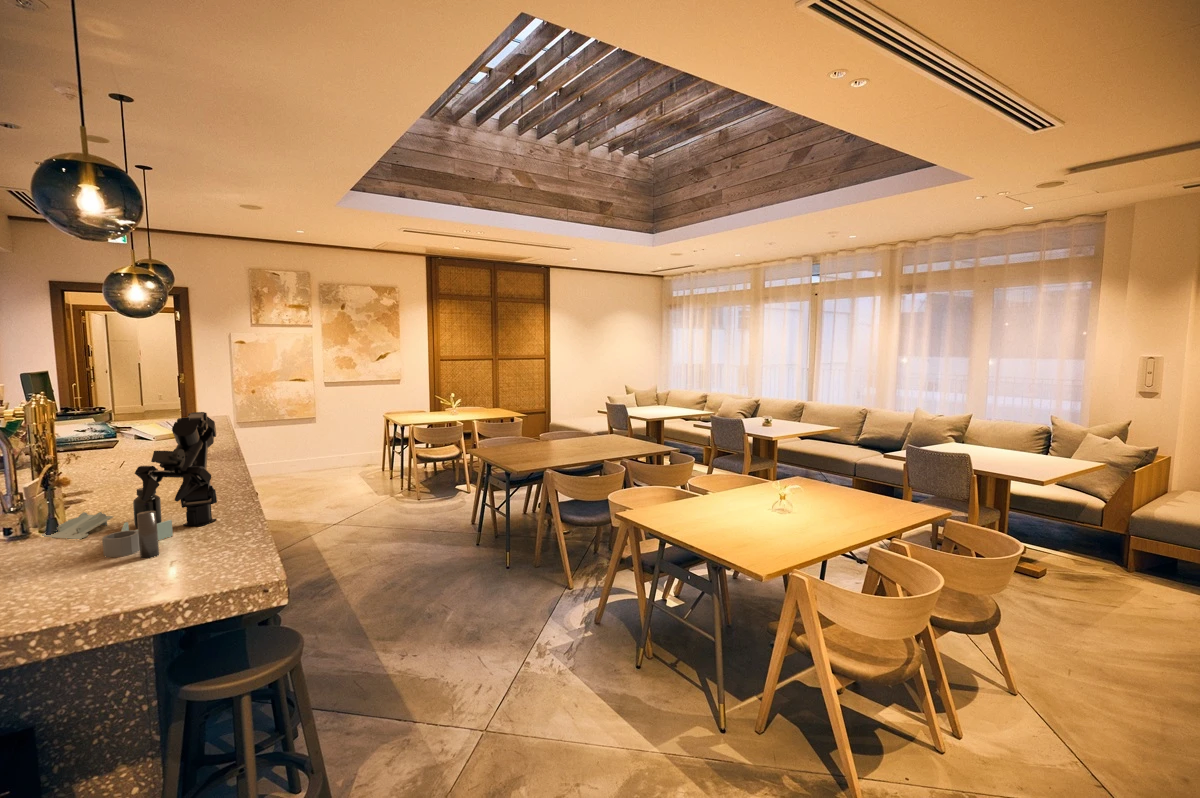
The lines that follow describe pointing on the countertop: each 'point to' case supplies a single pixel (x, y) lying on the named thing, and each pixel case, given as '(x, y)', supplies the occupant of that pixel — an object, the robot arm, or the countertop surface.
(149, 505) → the supplement bottle
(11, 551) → the countertop surface
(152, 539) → the hinge pin
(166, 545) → the countertop surface
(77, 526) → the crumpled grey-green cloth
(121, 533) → the grey forked piece
